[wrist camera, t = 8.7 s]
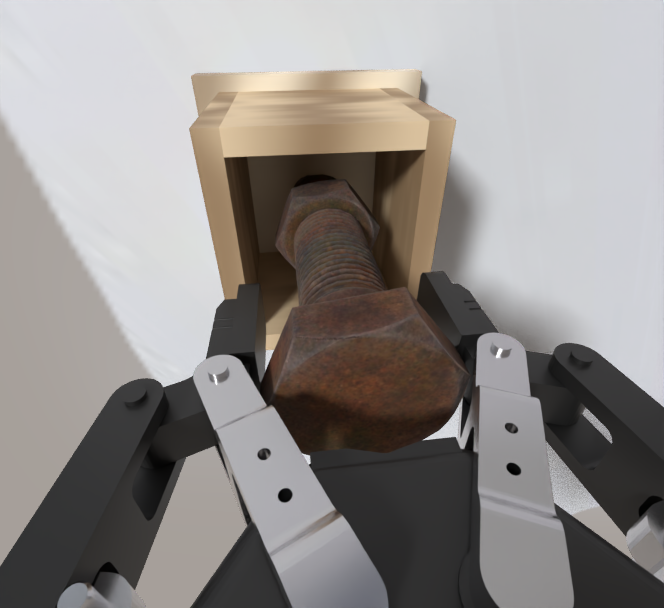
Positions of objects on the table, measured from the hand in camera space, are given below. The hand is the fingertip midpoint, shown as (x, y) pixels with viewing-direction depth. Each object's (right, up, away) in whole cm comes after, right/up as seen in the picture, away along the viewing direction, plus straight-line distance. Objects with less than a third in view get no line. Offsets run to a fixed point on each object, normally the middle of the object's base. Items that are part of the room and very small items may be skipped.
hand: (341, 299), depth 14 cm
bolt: (-1, +6, +8) cm, 10 cm away
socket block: (-2, +8, +11) cm, 13 cm away
